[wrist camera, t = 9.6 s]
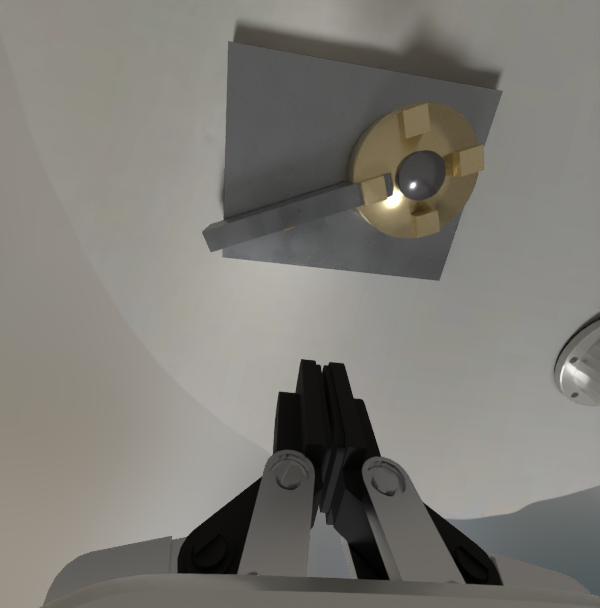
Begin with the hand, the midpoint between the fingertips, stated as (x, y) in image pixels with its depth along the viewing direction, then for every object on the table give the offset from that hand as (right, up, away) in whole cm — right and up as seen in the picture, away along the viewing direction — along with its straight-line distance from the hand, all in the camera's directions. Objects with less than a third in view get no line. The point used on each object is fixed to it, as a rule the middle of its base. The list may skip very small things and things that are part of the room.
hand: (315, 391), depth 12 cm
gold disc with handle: (+2, +12, +13) cm, 18 cm away
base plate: (+3, +14, +14) cm, 20 cm away
